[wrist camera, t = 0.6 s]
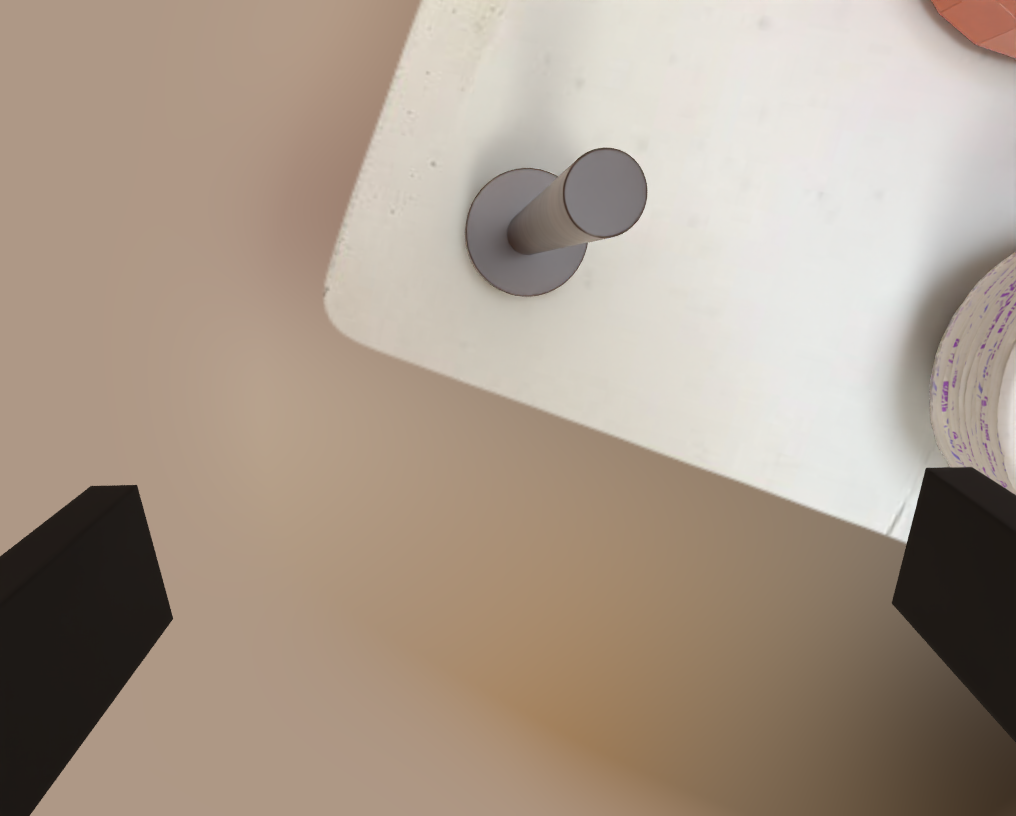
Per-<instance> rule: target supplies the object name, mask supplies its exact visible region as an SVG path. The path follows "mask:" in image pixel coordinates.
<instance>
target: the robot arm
mask: <svg viewBox="0 0 1016 816" xmlns="http://www.w3.org/2000/svg"><path fill="white" fill-rule="evenodd" d="M892 604H893V605H894V606H895V607H896V609H897V610H898V611H899V612H900V613H901V614H902V615H903V616H904V617H905V619H906V620H907V621H908V622H909V623H910V624H911V625H912V627H913V628H914V629H915V630H916V631H917V632H918V633H919V634H920V635H921V637H922V638H923V639H924V640H925V641H926V642H927V643H928V644H929V646H930V647H931V648H932V649H933V650H934V651H935V652H936V653H937V655H938V656H939V657H940V658H941V659H942V660H943V661H944V662H945V664H946V665H947V666H948V667H949V668H950V669H951V670H952V671H953V673H954V674H955V675H956V676H957V677H958V678H959V679H960V680H961V682H962V683H963V684H964V685H965V686H966V687H967V688H968V689H969V690H970V692H971V693H972V694H973V695H974V696H975V697H976V698H977V700H978V701H980V703H981V704H982V705H983V706H984V707H985V708H986V710H987V711H988V712H989V713H990V714H991V715H992V716H993V717H994V719H995V720H996V721H997V722H998V723H999V724H1000V725H1001V726H1002V727H1003V729H1004V730H1005V731H1006V732H1007V733H1008V734H1009V735H1010V737H1011V738H1012V739H1013V740H1014V741H1015V742H1016V495H1015V494H1013V493H1012V492H1010V491H1009V490H1007V489H1006V488H1004V487H1003V486H1001V485H999V484H998V483H996V482H995V481H993V480H992V479H990V478H988V477H987V476H985V475H984V474H982V473H981V472H979V471H978V470H976V469H974V468H973V467H949V468H926V470H925V474H924V478H923V482H922V486H921V490H920V494H919V498H918V502H917V506H916V510H915V514H914V518H913V521H912V525H911V529H910V533H909V537H908V541H907V545H906V549H905V553H904V557H903V561H902V565H901V569H900V573H899V577H898V581H897V585H896V589H895V593H894V597H893V601H892ZM172 620H173V616H172V613H171V609H170V605H169V601H168V598H167V594H166V591H165V587H164V583H163V579H162V576H161V572H160V568H159V565H158V561H157V557H156V553H155V550H154V546H153V542H152V539H151V535H150V531H149V528H148V524H147V520H146V517H145V513H144V509H143V506H142V502H141V498H140V494H139V491H138V487H137V485H120V486H90V487H89V488H88V489H87V490H85V491H84V492H83V493H82V494H80V495H79V496H78V497H76V498H75V499H74V500H72V501H71V502H70V503H69V504H68V505H66V506H65V507H63V508H62V509H61V510H60V511H58V512H57V513H56V514H54V515H53V516H52V517H51V518H49V519H48V520H47V521H45V522H44V523H43V524H42V525H40V526H39V527H38V528H36V529H35V530H34V531H33V532H31V533H30V534H29V535H27V536H26V537H25V538H23V539H22V540H21V541H20V542H18V543H17V544H16V545H14V546H13V547H12V548H11V549H9V550H8V551H7V552H5V553H4V554H3V555H2V556H0V816H30V814H31V813H32V812H33V810H34V809H35V807H36V806H37V805H38V803H39V802H40V801H41V799H42V798H43V796H44V795H45V794H46V792H47V791H48V790H49V788H50V787H51V785H52V784H53V783H54V781H55V780H56V779H57V777H58V776H59V775H60V773H61V772H62V770H63V769H64V768H65V766H66V765H67V763H68V762H69V761H70V759H71V758H72V757H73V755H74V754H75V753H76V751H77V750H78V748H79V747H80V746H81V744H82V743H83V742H84V740H85V739H86V737H87V736H88V735H89V733H90V732H91V731H92V729H93V728H94V727H95V725H96V724H97V722H98V721H99V719H100V718H101V717H102V716H103V714H104V713H105V711H106V710H107V709H108V707H109V706H110V705H111V703H112V702H113V701H114V699H115V698H116V696H117V695H118V694H119V692H120V691H121V690H122V688H123V687H124V685H125V684H126V683H127V681H128V680H129V679H130V677H131V676H132V674H133V673H134V671H135V670H136V669H137V668H138V666H139V665H140V664H141V662H142V661H143V659H144V658H145V657H146V655H147V654H148V653H149V651H150V650H151V648H152V647H153V646H154V644H155V643H156V642H157V640H158V639H159V637H160V636H161V635H162V633H163V632H164V630H165V629H166V628H167V626H168V625H169V624H170V622H171V621H172Z"/></svg>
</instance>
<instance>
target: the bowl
mask: <svg viewBox="0 0 1016 816" xmlns="http://www.w3.org/2000/svg"><path fill="white" fill-rule="evenodd" d="M931 1H932V3H933V4H934V6H935V8H936V10H937V12H938V13H939V14H940V15H941V16H942V17H943V18H945V19H946V20H947V21H948V22H949V23H950V24H951V25H953V26H954V27H955V28H956V29H957V30H958V31H960V32H961V33H962V34H963V35H964V36H965V37H967V38H968V39H969V40H970V41H971V42H972V43H973V44H975V45H978V46H981V47H983V48H986V49H989V50H992V51H995V52H998V53H1001V54H1004V55H1007V56H1010V57H1013V58H1016V0H931Z"/></svg>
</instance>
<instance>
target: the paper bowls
mask: <svg viewBox="0 0 1016 816" xmlns="http://www.w3.org/2000/svg"><path fill="white" fill-rule="evenodd" d="M929 392H930V401H929V404H930V418H931V424H932V428H933V430H934V436H935V439H936V442H937V446H938V448H939V450H940V451H941V453H942V455H943V456H944V458H945V459H946V461H947V463H948V465H949V466H950V467H973V468H974V469H976V470H978V471H979V472H981V473H982V474H984V475H985V476H987V477H988V478H990V479H992V480H993V481H995V482H996V483H998V484H999V485H1001V486H1003V487H1004V488H1006V489H1007V490H1009V491H1010V492H1012V493H1013V494H1015V495H1016V252H1014V253H1013V254H1012V255H1010V256H1009V257H1008V258H1006V259H1005V260H1003V261H1002V262H1000V263H999V264H998V265H997V266H995V267H994V268H993V269H992V270H990V271H989V272H988V273H987V274H986V275H985V276H984V277H983V278H982V279H981V280H980V281H979V282H978V283H977V284H976V285H975V286H974V288H973V289H972V291H971V292H970V293H969V294H968V296H967V297H966V299H965V300H964V302H963V303H962V304H961V305H960V306H959V308H958V309H957V311H956V312H955V314H954V315H953V317H952V319H951V321H950V323H949V325H948V327H947V329H946V331H945V333H944V335H943V337H942V339H941V341H940V344H939V347H938V350H937V353H936V356H935V360H934V364H933V369H932V375H931V379H930V391H929Z"/></svg>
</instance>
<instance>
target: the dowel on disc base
mask: <svg viewBox="0 0 1016 816" xmlns="http://www.w3.org/2000/svg"><path fill="white" fill-rule="evenodd" d="M646 200H647V183H646V179H645V176H644V173H643V171H642V169H641V167H640V166H639V164H638V163H637V162H636V161H635V160H634V159H633V158H632V157H631V156H630V155H628V154H627V153H625V152H623V151H621V150H618V149H614V148H598V149H594V150H591V151H589V152H587V153H585V154H584V155H582V156H581V157H579V158H578V159H577V160H576V161H575V162H574V163H573V164H572V165H571V166H569V167H568V168H567V169H566V170H565V171H564V172H563V173H562V174H561V175H560V176H559V177H557V176H556V175H554V174H552V173H549V172H547V171H544V170H540V169H534V168H521V169H514V170H511V171H507V172H505V173H503V174H500V175H499V176H497V177H495V178H494V179H492V180H491V181H490V182H488V183H487V184H486V185H485V186H484V187H483V188H482V189H481V190H480V192H479V193H478V195H477V196H476V197H475V199H474V201H473V203H472V205H471V207H470V210H469V213H468V217H467V221H466V228H465V242H466V248H467V252H468V255H469V258H470V260H471V262H472V264H473V266H474V268H475V269H476V271H477V272H478V273H479V274H480V276H481V277H482V278H483V279H484V280H485V281H487V282H488V283H489V284H490V285H492V286H493V287H495V288H497V289H499V290H501V291H504V292H506V293H509V294H512V295H517V296H537V295H542V294H545V293H548V292H550V291H553V290H555V289H556V288H558V287H560V286H561V285H563V284H564V283H565V282H566V281H568V279H569V278H570V277H571V276H572V275H573V274H574V273H575V272H576V270H577V269H578V267H579V265H580V264H581V262H582V260H583V257H584V255H585V252H586V248H587V243H588V242H592V241H597V240H602V239H606V238H611V237H615V236H618V235H620V234H623V233H624V232H626V231H628V230H629V229H630V228H631V227H632V226H633V225H634V224H635V223H636V222H637V221H638V220H639V218H640V216H641V215H642V213H643V210H644V208H645V205H646Z"/></svg>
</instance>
